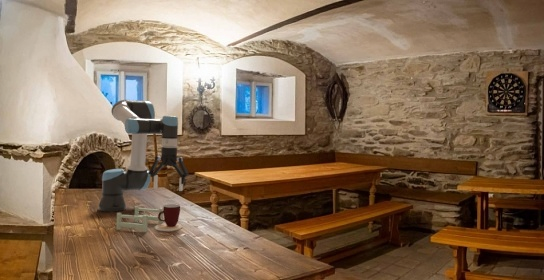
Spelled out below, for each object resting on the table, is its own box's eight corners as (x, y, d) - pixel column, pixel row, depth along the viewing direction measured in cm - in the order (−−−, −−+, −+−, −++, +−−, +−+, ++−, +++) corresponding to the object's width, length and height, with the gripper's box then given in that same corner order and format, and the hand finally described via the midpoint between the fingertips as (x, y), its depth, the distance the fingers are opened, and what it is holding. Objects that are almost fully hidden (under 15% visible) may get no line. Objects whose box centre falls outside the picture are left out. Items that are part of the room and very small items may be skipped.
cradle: (116, 229, 196) (116, 213, 195) (135, 221, 213) (136, 206, 213) (145, 232, 193) (145, 215, 193) (162, 223, 211) (163, 208, 210)
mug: (160, 229, 196) (161, 208, 196) (155, 225, 203) (156, 205, 202) (181, 226, 201) (182, 206, 201) (176, 223, 208) (177, 203, 208)
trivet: (149, 230, 197) (150, 228, 197) (162, 223, 210) (162, 221, 210) (175, 232, 195) (175, 230, 195) (186, 225, 208) (186, 224, 208)
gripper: (142, 146, 201) (141, 189, 202) (190, 148, 196) (188, 192, 197) (149, 145, 208) (148, 186, 209) (196, 147, 203) (194, 190, 204)
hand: (168, 189), depth 203 cm, fingers open, 13 cm apart
